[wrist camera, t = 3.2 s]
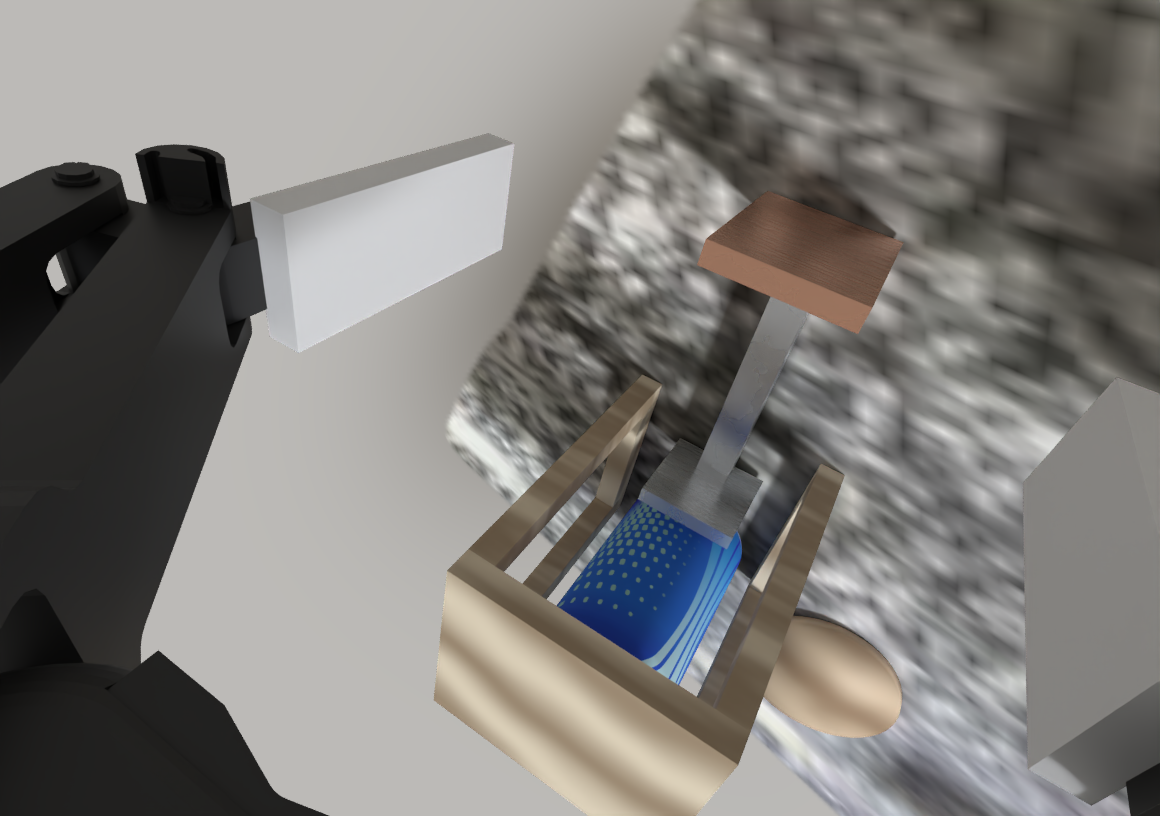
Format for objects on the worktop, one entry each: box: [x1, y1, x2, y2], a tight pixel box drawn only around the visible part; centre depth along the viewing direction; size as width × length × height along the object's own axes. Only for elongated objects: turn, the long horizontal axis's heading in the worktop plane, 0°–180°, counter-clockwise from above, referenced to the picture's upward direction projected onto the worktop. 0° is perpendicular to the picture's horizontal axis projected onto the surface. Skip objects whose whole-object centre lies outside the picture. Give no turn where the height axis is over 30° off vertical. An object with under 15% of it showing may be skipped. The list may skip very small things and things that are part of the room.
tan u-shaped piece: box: [638, 191, 903, 549], centre depth 34 cm, size 18×7×9 cm, turn 167°
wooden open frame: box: [434, 375, 845, 816], centre depth 37 cm, size 12×14×20 cm
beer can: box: [557, 499, 742, 685], centre depth 41 cm, size 8×8×16 cm
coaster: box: [763, 616, 902, 738], centre depth 47 cm, size 11×11×1 cm
